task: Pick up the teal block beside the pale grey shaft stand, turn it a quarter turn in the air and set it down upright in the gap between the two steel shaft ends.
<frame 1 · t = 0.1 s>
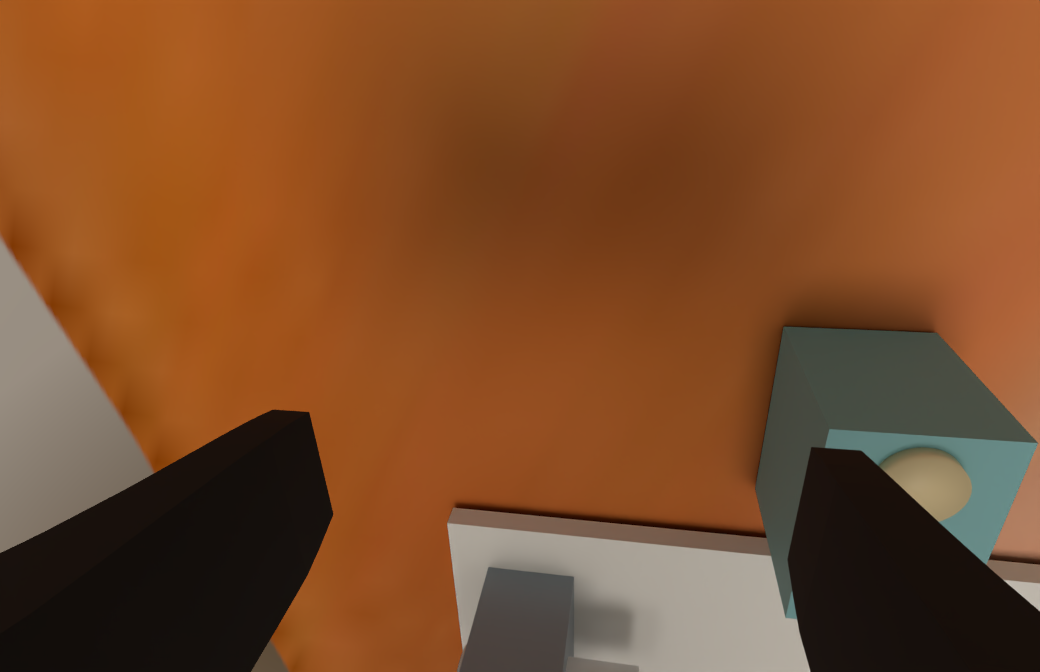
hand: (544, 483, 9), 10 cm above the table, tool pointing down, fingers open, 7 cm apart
teal block: (837, 417, 19), on the table
shaft stand: (788, 631, 23), on the table
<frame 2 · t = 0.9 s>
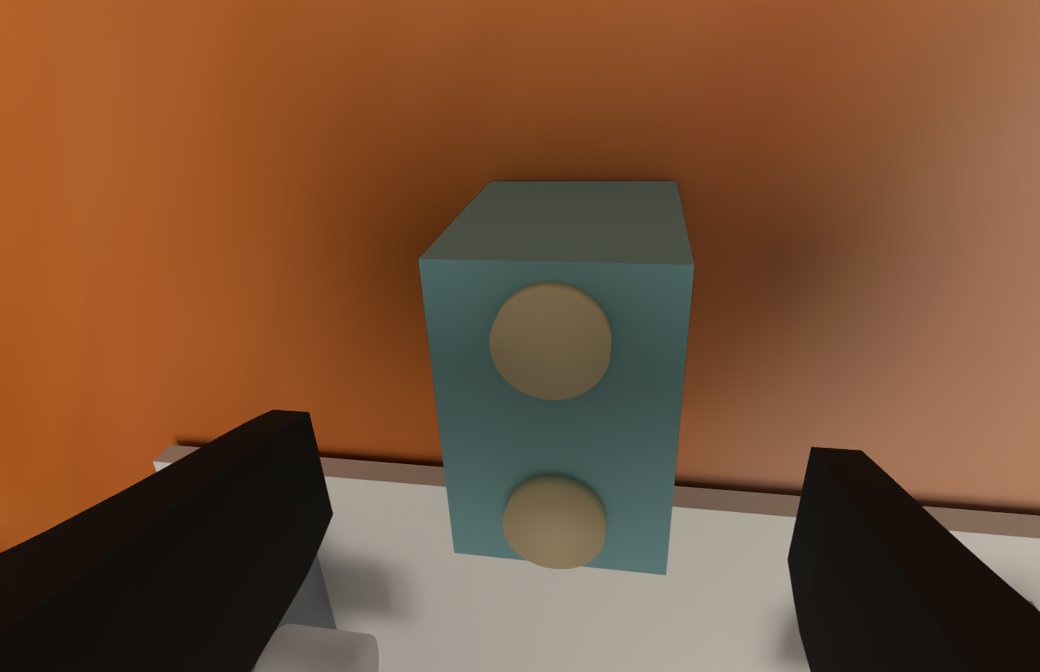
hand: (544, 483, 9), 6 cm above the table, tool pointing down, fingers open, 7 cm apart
teal block: (580, 308, 15), on the table
shaft stand: (579, 594, 19), on the table
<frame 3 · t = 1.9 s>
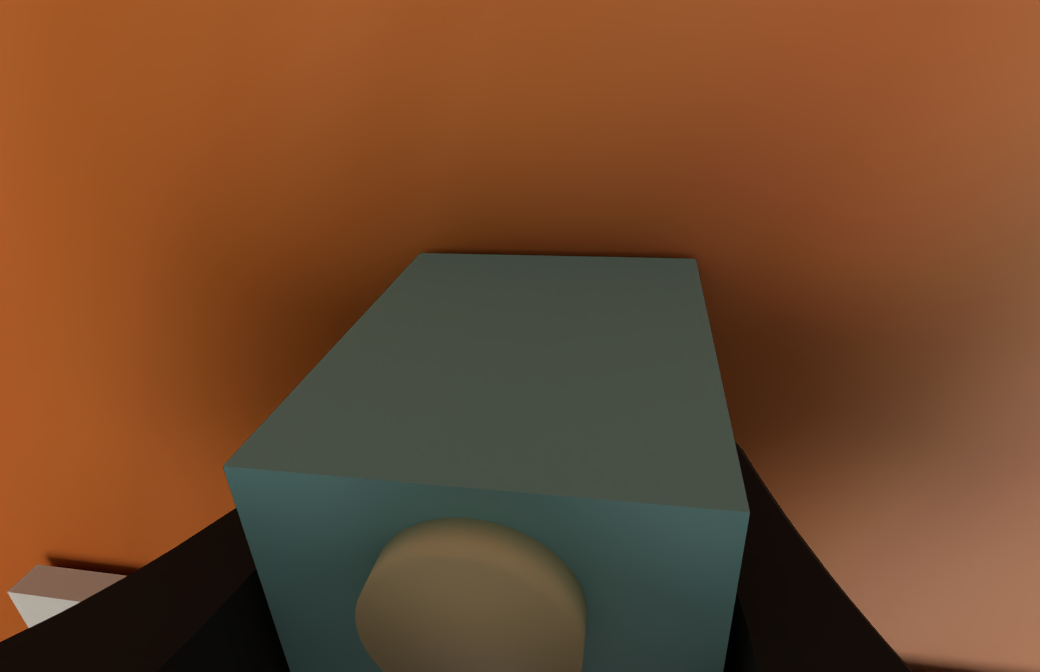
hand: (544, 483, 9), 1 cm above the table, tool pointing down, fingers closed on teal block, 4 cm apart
teal block: (555, 426, 10), on the table, touching gripper
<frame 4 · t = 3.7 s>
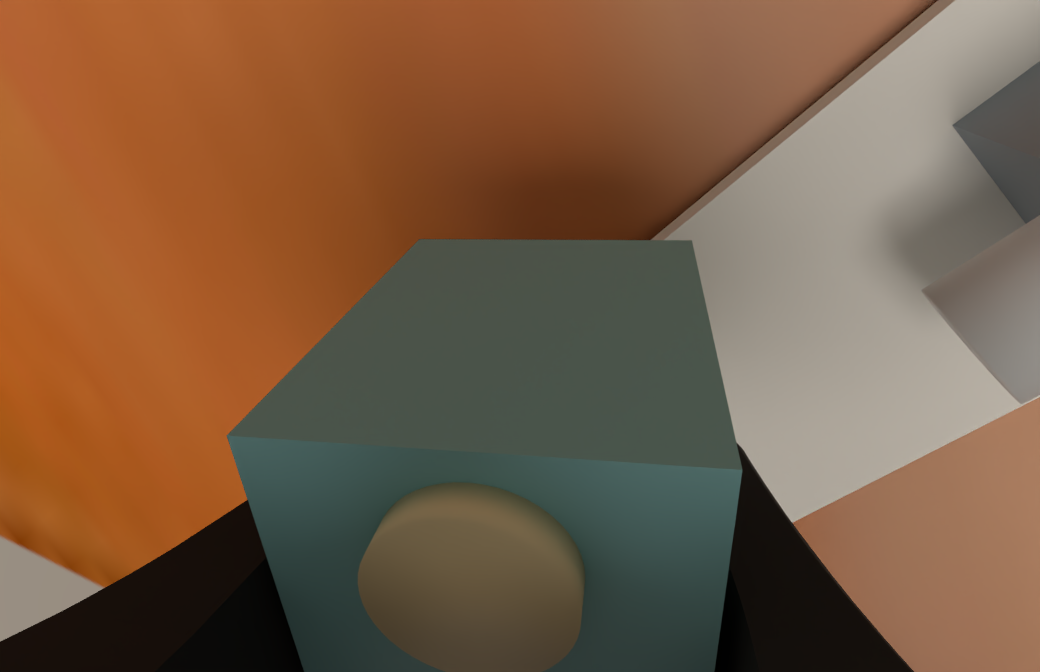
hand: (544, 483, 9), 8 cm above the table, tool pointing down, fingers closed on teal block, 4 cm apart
teal block: (555, 411, 10), point 7 cm above the table, touching gripper
shaft stand: (709, 393, 17), on the table
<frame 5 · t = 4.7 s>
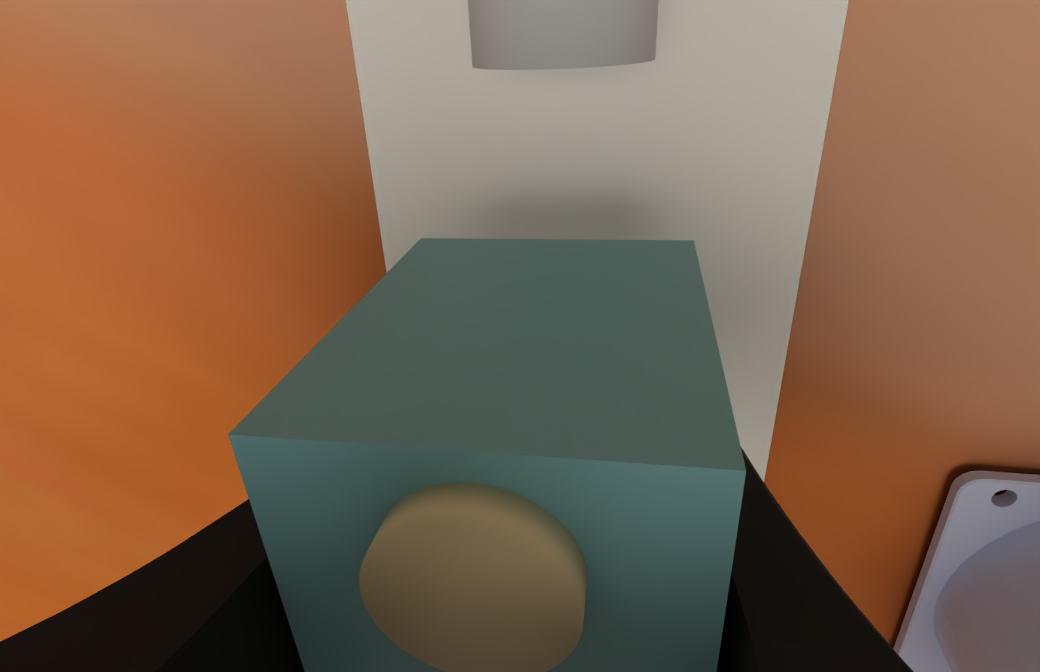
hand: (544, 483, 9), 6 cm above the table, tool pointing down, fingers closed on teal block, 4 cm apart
teal block: (556, 410, 10), point 5 cm above the table, touching gripper
shaft stand: (583, 303, 15), on the table
when the fingers open (4 cm above the table, at t = 5.6 s): teal block drops 1 cm, resting on shaft stand.
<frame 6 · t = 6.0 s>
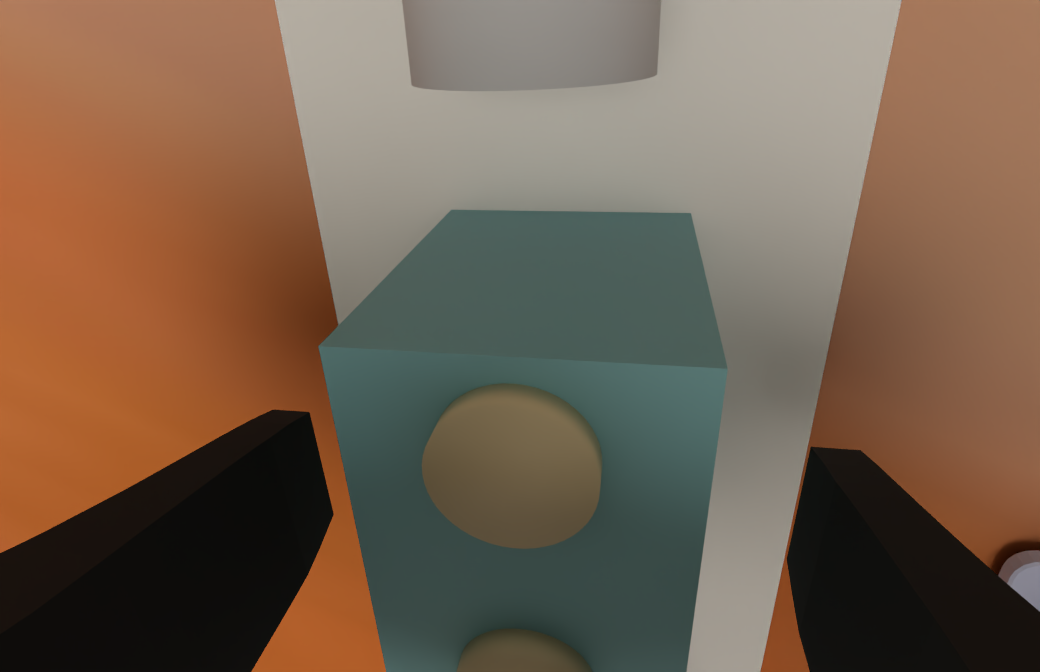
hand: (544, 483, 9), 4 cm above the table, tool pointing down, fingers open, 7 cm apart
teal block: (567, 367, 12), point 1 cm above the table, touching shaft stand
shaft stand: (571, 354, 12), on the table
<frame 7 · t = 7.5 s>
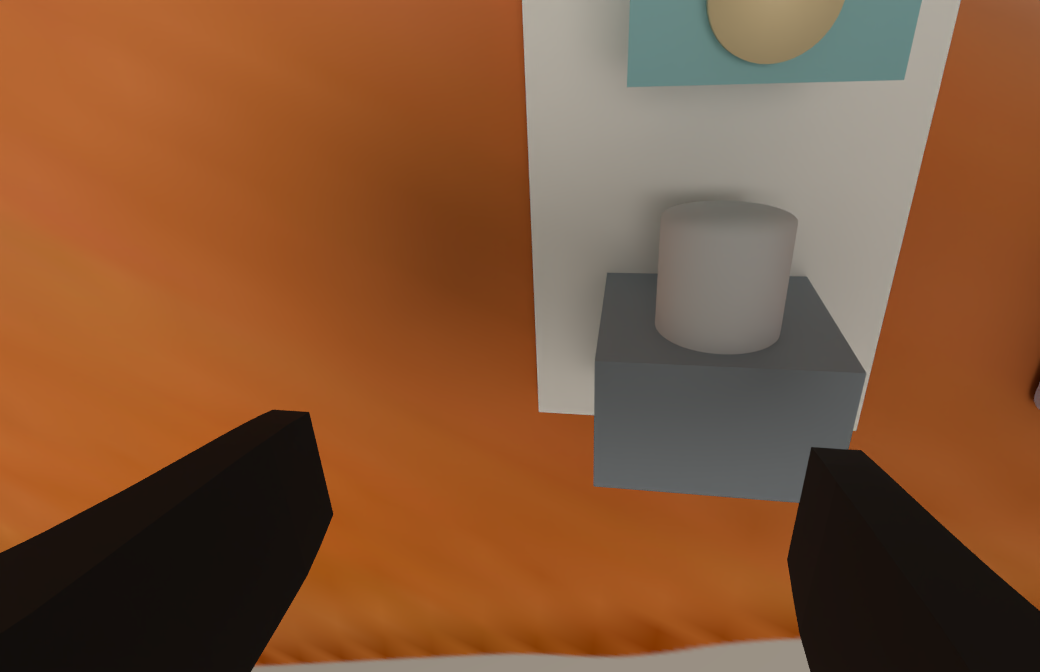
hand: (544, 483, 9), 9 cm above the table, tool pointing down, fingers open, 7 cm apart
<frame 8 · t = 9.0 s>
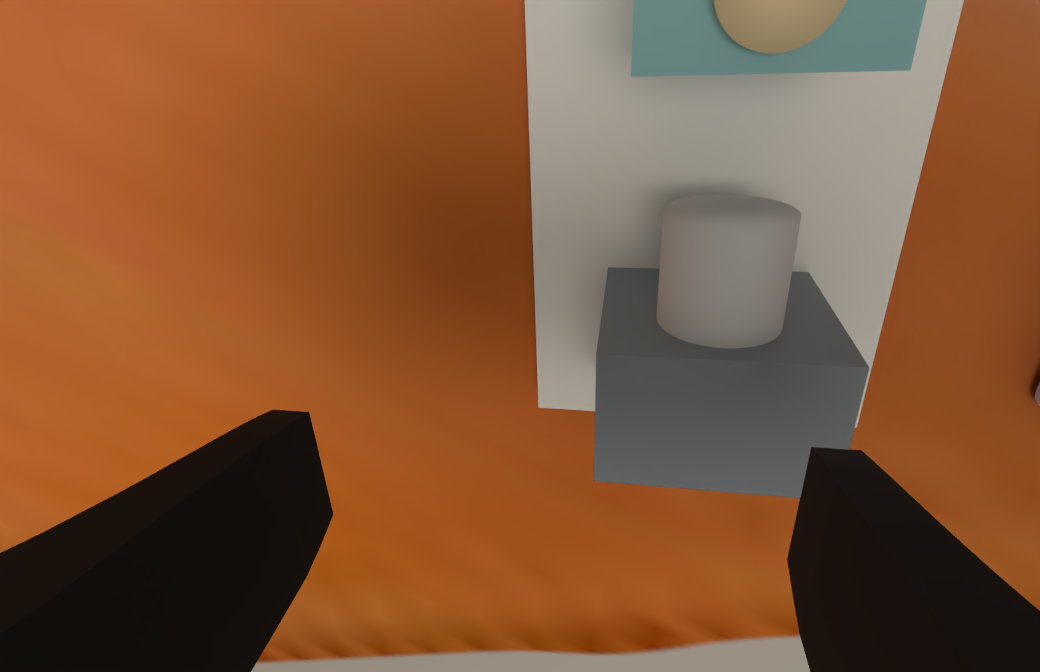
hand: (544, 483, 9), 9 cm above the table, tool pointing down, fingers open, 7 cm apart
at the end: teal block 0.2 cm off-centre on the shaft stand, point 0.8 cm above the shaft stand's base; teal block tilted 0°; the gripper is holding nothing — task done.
